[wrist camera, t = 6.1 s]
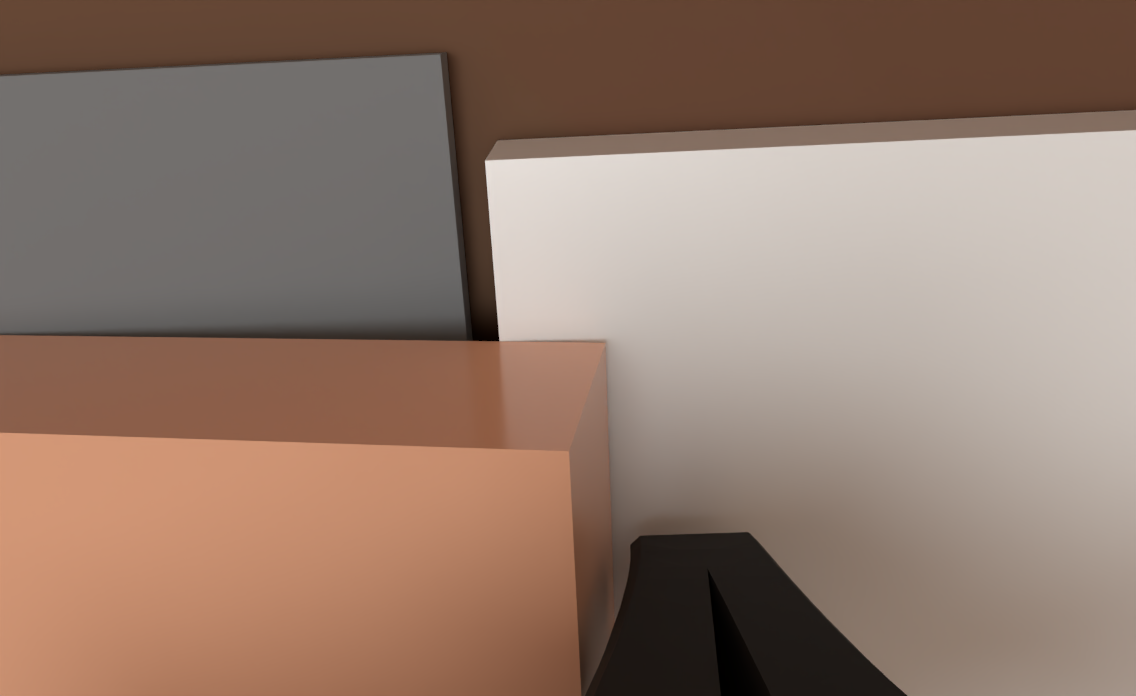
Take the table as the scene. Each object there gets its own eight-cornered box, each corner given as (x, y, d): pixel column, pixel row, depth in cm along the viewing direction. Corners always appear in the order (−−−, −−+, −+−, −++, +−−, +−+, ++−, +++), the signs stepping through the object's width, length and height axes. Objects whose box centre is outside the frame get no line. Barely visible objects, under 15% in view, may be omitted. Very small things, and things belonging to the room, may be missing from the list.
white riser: (1196, 772, 14) (1267, 860, 12) (545, 790, 14) (542, 878, 13) (1372, 98, 10) (1500, 112, 9) (497, 140, 10) (484, 159, 9)
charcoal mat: (509, 742, 14) (506, 767, 13) (-133, 761, 14) (-158, 787, 13) (446, 52, 10) (440, 54, 10) (-413, 95, 10) (-460, 99, 10)
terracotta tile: (619, 774, 12) (594, 964, 9) (69, 723, 13) (-71, 879, 11) (605, 343, 10) (569, 450, 7) (-51, 334, 11) (-259, 423, 9)
